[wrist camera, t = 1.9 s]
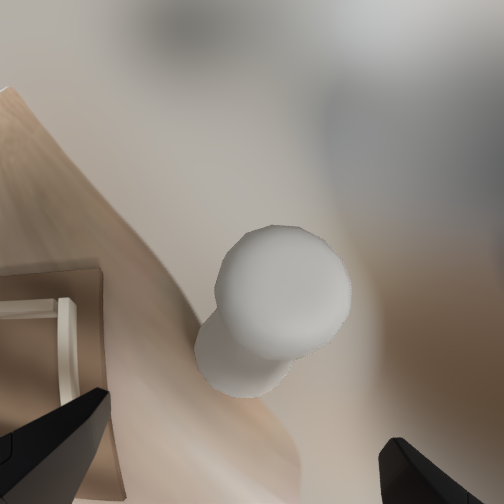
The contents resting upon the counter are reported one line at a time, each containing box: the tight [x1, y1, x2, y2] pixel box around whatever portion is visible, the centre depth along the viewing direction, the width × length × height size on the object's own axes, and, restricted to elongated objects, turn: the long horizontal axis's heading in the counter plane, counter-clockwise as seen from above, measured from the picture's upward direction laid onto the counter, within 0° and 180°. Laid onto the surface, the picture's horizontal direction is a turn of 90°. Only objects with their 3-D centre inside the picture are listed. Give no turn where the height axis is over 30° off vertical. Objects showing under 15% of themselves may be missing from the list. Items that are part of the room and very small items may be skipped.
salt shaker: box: [194, 225, 352, 398], centre depth 14 cm, size 6×6×13 cm
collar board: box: [0, 268, 127, 501], centre depth 15 cm, size 16×14×2 cm
